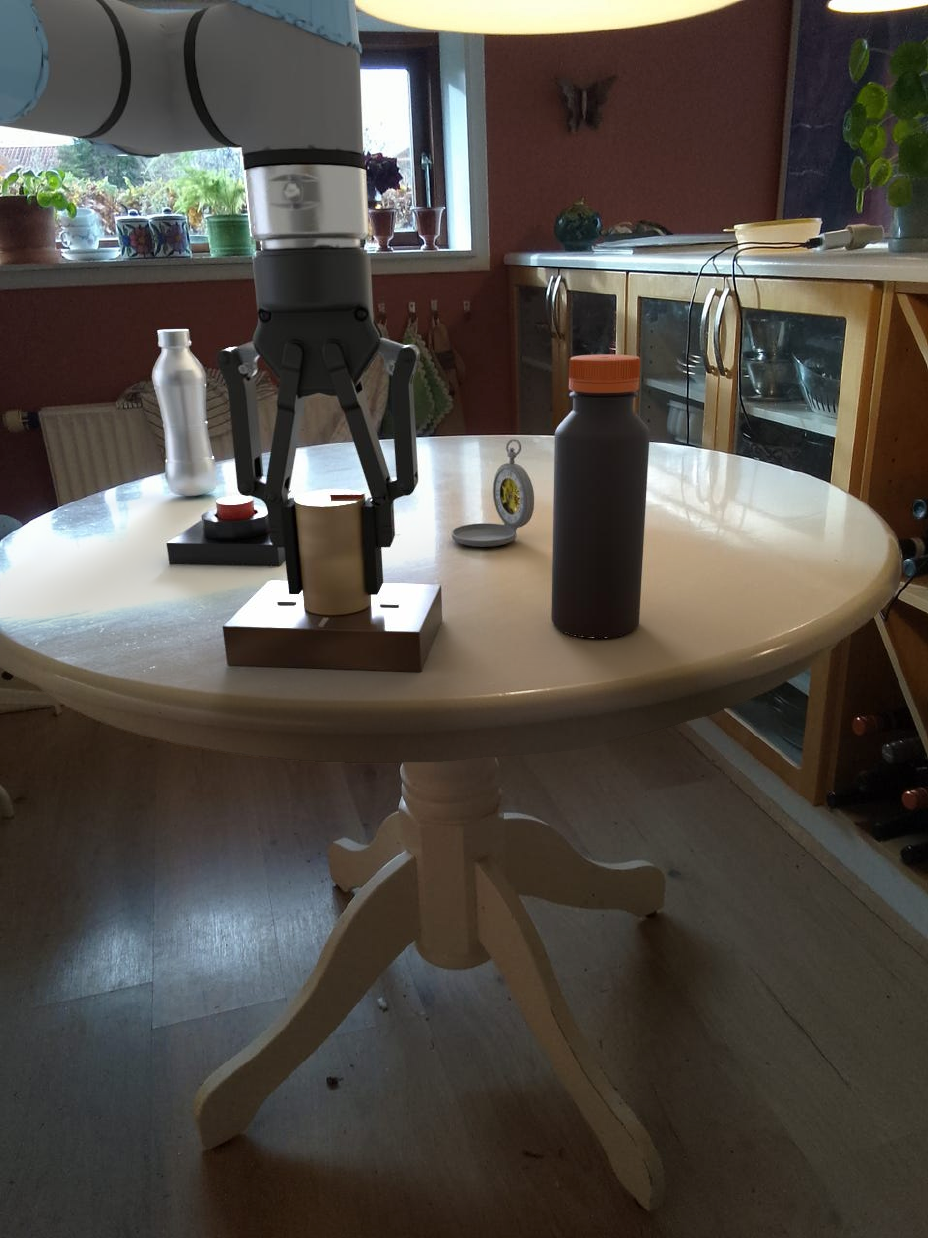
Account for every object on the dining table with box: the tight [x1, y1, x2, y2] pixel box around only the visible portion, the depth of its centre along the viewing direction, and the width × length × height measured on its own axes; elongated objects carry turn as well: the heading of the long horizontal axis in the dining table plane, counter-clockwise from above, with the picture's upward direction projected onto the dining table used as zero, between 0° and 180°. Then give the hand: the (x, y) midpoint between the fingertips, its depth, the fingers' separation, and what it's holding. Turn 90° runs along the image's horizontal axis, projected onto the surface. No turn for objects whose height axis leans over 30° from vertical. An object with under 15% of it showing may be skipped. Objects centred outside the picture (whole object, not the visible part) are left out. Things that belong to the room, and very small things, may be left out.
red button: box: [215, 495, 255, 519], centre depth 88 cm, size 4×4×2 cm
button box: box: [166, 505, 286, 568], centre depth 89 cm, size 11×9×4 cm
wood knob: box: [294, 489, 372, 615], centre depth 64 cm, size 5×5×8 cm
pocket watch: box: [451, 438, 535, 548], centre depth 90 cm, size 8×8×10 cm
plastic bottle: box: [151, 328, 219, 497], centre depth 110 cm, size 6×7×20 cm
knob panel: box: [222, 580, 443, 673], centre depth 67 cm, size 14×10×3 cm
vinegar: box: [550, 353, 651, 639], centre depth 66 cm, size 7×7×20 cm
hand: (336, 588), depth 66 cm, fingers closed on wood knob, 5 cm apart
